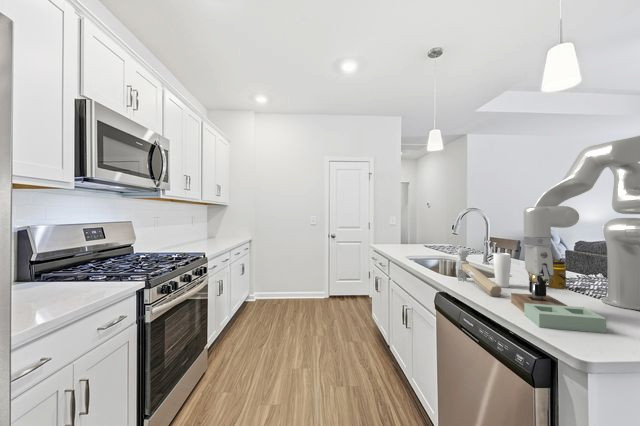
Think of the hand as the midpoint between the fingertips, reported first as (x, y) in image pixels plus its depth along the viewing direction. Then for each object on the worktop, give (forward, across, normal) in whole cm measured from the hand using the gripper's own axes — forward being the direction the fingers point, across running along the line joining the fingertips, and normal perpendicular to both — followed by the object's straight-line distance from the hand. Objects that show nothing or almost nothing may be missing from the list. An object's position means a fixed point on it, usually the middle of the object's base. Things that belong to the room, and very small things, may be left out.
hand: (537, 293), depth 98 cm
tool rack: (+5, -13, -1) cm, 14 cm away
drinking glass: (+6, +31, +1) cm, 32 cm away
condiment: (+6, +35, -21) cm, 41 cm away
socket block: (+5, 0, 0) cm, 5 cm away
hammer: (+6, +26, +13) cm, 30 cm away
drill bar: (+5, 0, 0) cm, 5 cm away
